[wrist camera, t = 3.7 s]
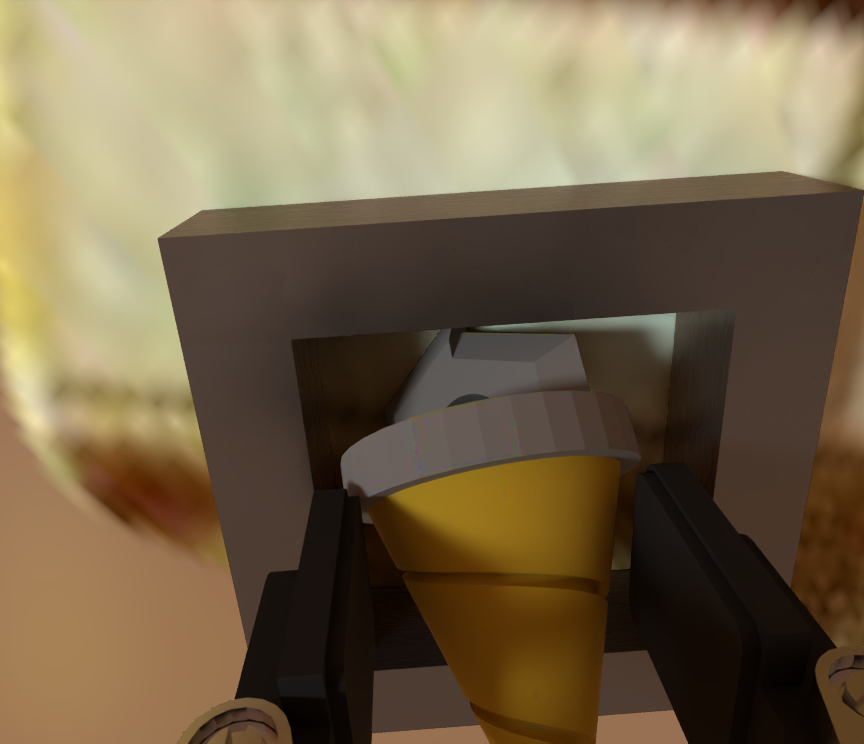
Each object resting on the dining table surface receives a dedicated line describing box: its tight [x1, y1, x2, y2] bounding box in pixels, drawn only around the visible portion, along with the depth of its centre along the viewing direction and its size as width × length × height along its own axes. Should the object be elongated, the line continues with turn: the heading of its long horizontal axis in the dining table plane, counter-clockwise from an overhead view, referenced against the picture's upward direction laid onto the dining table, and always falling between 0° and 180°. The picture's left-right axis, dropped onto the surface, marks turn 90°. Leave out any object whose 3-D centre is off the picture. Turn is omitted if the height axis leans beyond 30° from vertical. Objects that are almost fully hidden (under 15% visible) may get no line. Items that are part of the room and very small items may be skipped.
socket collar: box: [158, 171, 864, 733], centre depth 14 cm, size 11×11×2 cm
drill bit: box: [341, 327, 641, 744], centre depth 12 cm, size 5×5×10 cm
